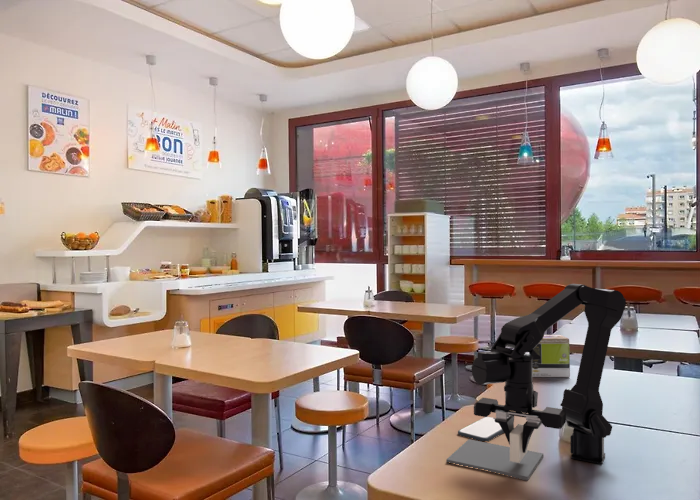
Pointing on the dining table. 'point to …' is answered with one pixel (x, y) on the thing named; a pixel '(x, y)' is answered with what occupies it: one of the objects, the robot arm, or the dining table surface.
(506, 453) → the mat
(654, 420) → the dining table surface
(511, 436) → the block
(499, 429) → the phone case
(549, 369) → the tea box
